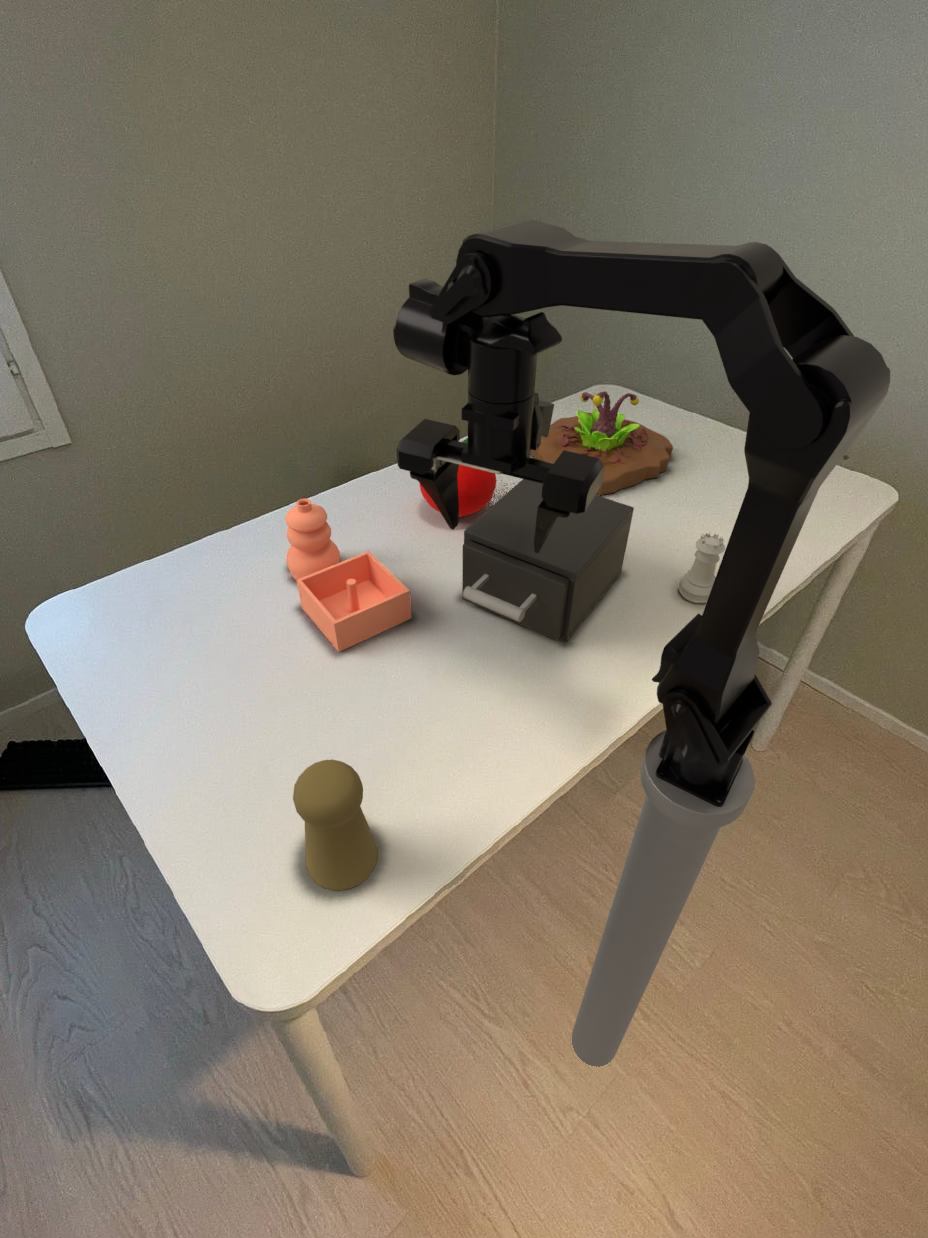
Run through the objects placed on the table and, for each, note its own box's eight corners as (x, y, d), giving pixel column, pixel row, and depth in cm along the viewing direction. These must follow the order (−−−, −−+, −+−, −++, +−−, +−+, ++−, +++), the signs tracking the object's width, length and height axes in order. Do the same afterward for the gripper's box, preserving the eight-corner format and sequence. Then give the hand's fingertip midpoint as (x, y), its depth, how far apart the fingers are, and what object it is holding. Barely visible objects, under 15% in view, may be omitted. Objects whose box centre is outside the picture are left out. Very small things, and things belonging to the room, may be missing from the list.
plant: (507, 454, 109) (510, 385, 102) (588, 416, 119) (596, 350, 112) (608, 507, 99) (621, 434, 91) (688, 460, 109) (705, 390, 101)
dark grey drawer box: (566, 642, 79) (576, 574, 72) (463, 598, 84) (463, 530, 78) (621, 573, 88) (634, 507, 81) (524, 537, 93) (529, 472, 87)
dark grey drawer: (539, 663, 75) (545, 608, 70) (441, 619, 80) (440, 564, 75) (609, 576, 86) (619, 522, 81) (520, 542, 91) (523, 489, 86)
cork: (291, 875, 58) (267, 799, 51) (328, 815, 62) (311, 737, 55) (356, 901, 56) (341, 827, 49) (390, 838, 61) (380, 761, 53)
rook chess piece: (691, 576, 87) (706, 522, 82) (722, 593, 85) (740, 539, 80) (670, 592, 85) (684, 538, 80) (701, 610, 83) (718, 555, 77)
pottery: (411, 618, 81) (407, 550, 75) (338, 652, 77) (327, 582, 71) (337, 543, 92) (327, 477, 86) (270, 569, 88) (254, 502, 82)
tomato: (504, 525, 95) (507, 459, 89) (429, 536, 94) (426, 469, 87) (484, 485, 103) (485, 421, 96) (413, 494, 101) (410, 430, 94)
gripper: (633, 374, 63) (608, 520, 73) (445, 339, 69) (447, 479, 79) (595, 427, 55) (573, 581, 66) (388, 383, 61) (399, 531, 72)
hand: (495, 538), depth 71 cm, fingers open, 9 cm apart
